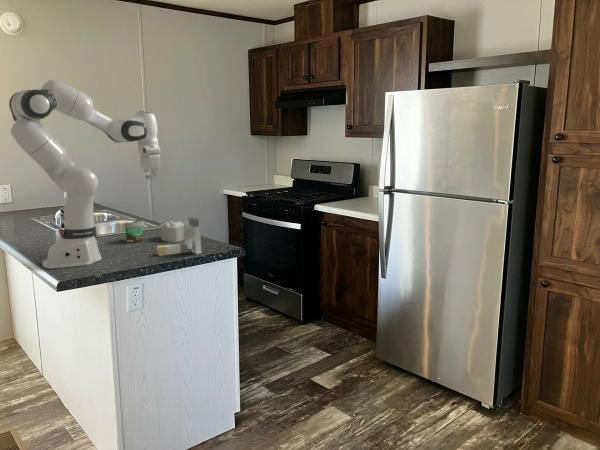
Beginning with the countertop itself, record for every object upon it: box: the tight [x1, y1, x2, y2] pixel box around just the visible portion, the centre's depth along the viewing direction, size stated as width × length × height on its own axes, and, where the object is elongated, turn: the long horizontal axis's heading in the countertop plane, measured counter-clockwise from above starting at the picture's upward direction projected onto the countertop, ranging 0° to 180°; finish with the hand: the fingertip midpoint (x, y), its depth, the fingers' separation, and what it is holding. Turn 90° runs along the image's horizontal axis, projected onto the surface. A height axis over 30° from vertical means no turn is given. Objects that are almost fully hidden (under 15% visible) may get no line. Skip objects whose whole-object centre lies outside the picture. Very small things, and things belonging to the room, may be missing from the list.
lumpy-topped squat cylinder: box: [160, 220, 185, 243], centre depth 251 cm, size 10×13×9 cm
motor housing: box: [183, 216, 202, 255], centre depth 227 cm, size 2×15×15 cm, turn 31°
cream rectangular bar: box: [156, 242, 188, 257], centre depth 223 cm, size 12×4×4 cm, turn 121°
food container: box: [123, 218, 145, 244], centre depth 246 cm, size 12×6×10 cm, turn 168°
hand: (150, 179), depth 229 cm, fingers open, 8 cm apart
